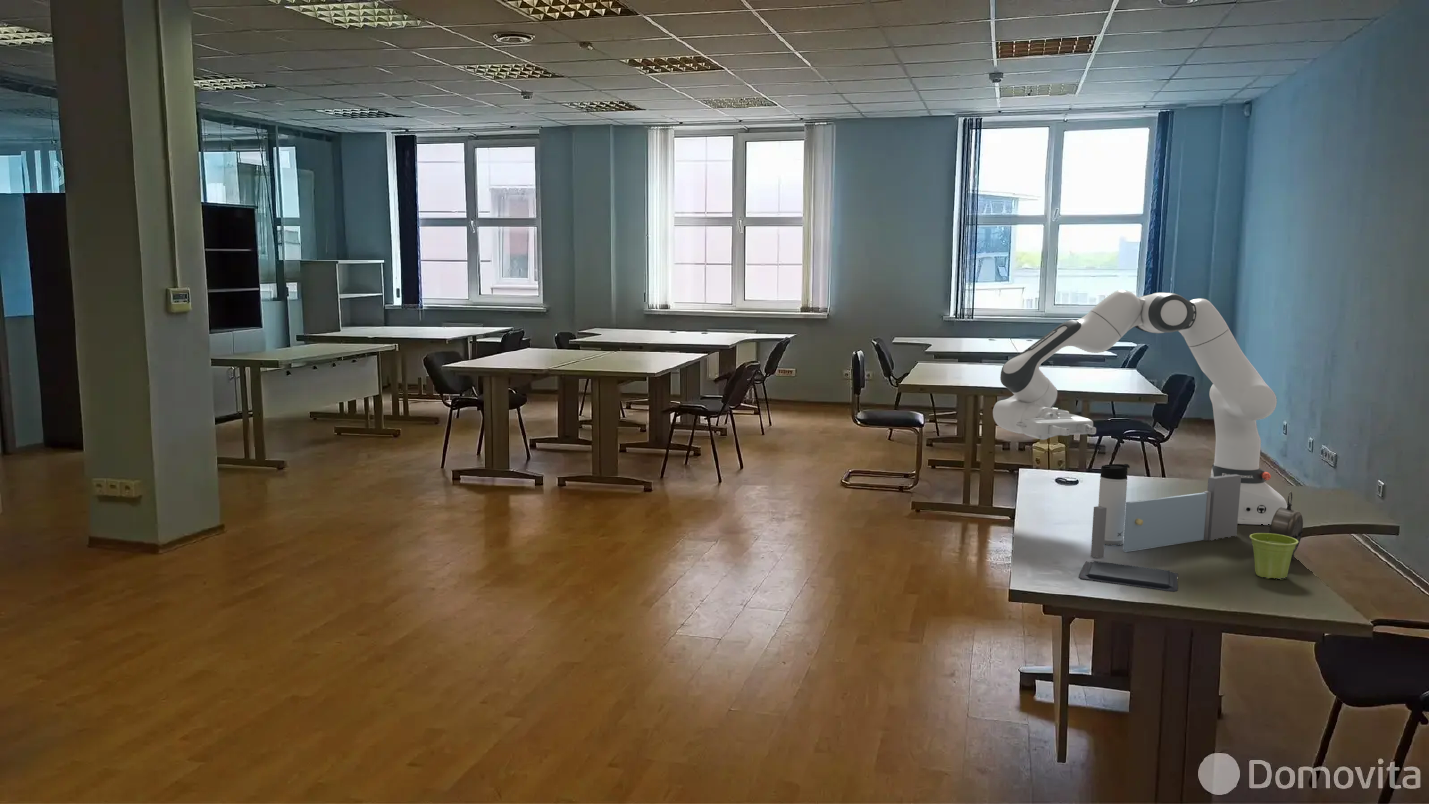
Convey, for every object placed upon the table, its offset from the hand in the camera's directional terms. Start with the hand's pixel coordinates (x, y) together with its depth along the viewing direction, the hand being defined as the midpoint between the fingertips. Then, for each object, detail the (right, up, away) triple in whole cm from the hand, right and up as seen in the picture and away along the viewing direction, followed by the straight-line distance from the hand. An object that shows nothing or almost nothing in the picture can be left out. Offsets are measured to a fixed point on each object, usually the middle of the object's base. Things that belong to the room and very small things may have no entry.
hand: (1081, 431), depth 252 cm
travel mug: (+5, -28, -7) cm, 29 cm away
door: (+18, -28, -10) cm, 35 cm away
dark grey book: (-2, -32, -35) cm, 47 cm away
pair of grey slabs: (+18, -28, -10) cm, 34 cm away
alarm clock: (+41, -30, -19) cm, 54 cm away
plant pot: (+30, -31, -33) cm, 55 cm away
